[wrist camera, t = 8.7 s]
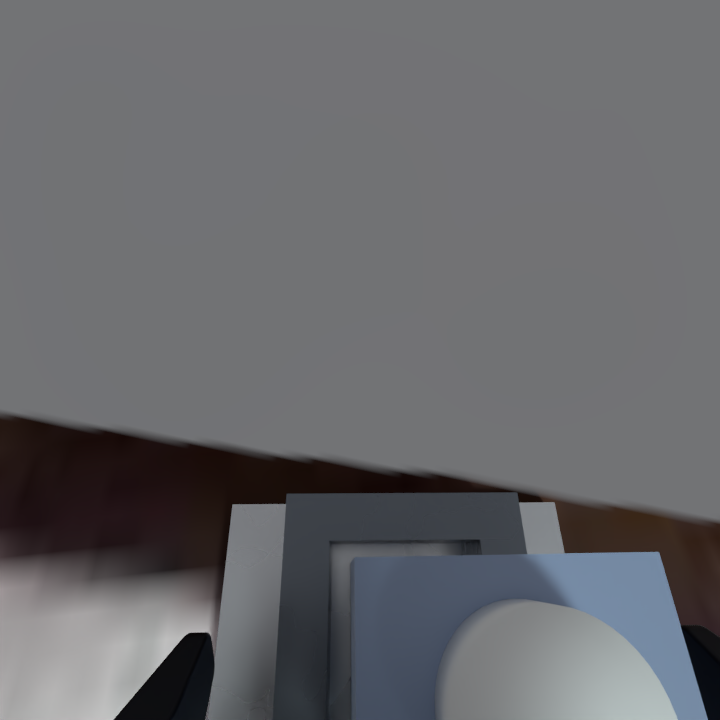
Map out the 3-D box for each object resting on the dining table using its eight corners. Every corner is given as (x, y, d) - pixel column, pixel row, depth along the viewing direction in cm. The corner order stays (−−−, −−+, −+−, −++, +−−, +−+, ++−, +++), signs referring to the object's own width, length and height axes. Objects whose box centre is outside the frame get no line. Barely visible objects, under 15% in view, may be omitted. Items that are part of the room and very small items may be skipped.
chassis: (607, 830, 14) (684, 909, 11) (200, 841, 13) (154, 926, 10) (546, 504, 18) (587, 492, 15) (237, 506, 18) (213, 493, 15)
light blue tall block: (461, 747, 14) (1162, 1872, 2) (351, 750, 14) (371, 1965, 2) (444, 561, 16) (710, 549, 4) (350, 562, 16) (355, 555, 4)
